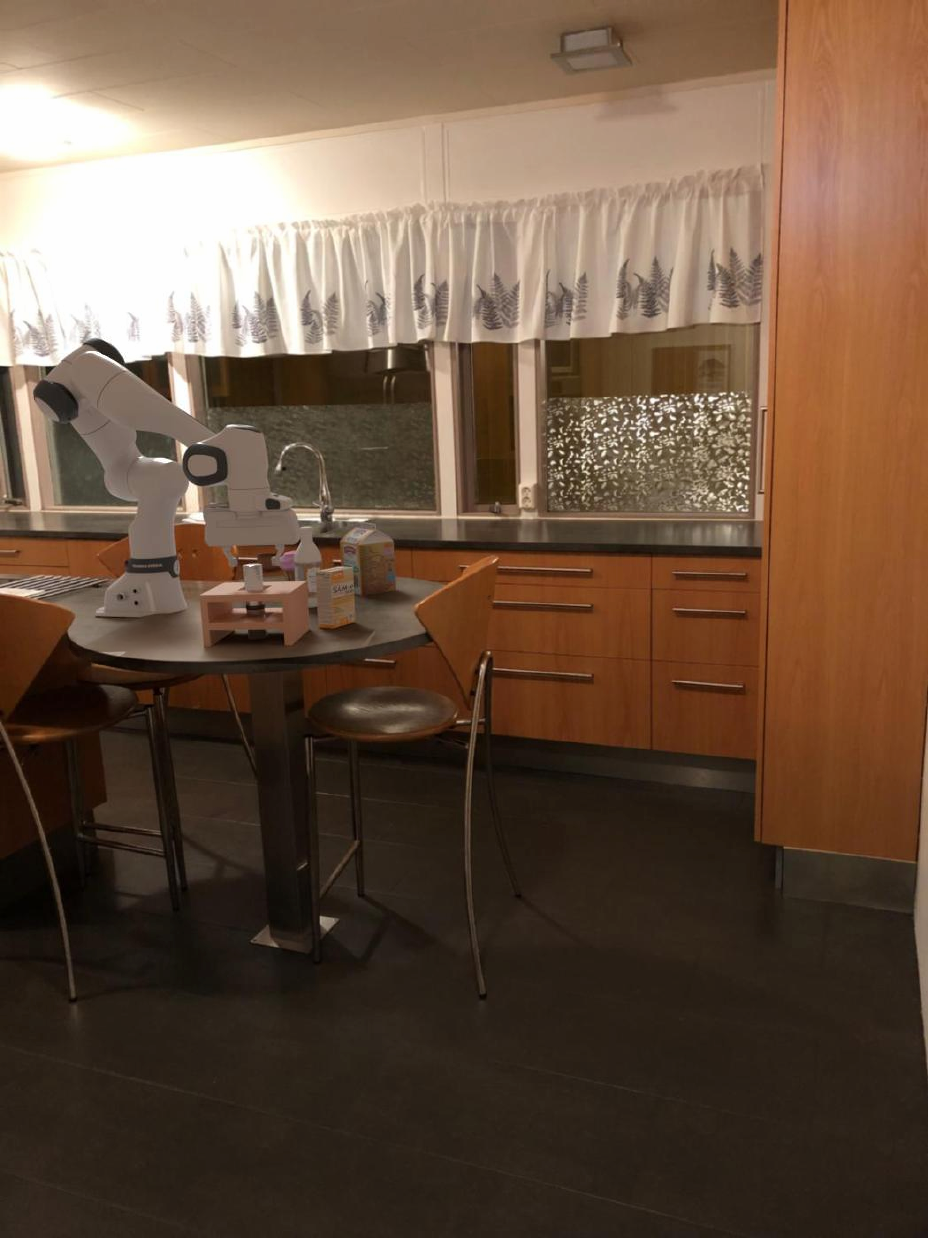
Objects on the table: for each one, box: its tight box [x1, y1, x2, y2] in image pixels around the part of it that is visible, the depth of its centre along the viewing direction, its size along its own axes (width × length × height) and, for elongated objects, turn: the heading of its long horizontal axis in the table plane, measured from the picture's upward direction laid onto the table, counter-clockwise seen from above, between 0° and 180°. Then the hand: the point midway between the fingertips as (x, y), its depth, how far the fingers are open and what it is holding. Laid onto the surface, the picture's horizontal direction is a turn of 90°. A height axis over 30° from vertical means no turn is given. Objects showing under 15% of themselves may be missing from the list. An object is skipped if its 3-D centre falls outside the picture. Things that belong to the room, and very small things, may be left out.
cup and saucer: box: [256, 552, 283, 574], centre depth 303 cm, size 12×12×6 cm
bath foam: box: [294, 526, 324, 609], centre depth 248 cm, size 7×7×20 cm
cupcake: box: [279, 550, 296, 581], centre depth 281 cm, size 9×9×10 cm
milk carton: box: [339, 521, 397, 597], centre depth 264 cm, size 11×11×19 cm
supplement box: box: [315, 566, 356, 629], centre depth 224 cm, size 8×5×13 cm, turn 148°
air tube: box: [242, 563, 268, 641], centre depth 214 cm, size 4×4×16 cm
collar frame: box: [198, 580, 311, 647], centre depth 214 cm, size 19×16×11 cm
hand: (254, 565), depth 212 cm, fingers open, 8 cm apart
